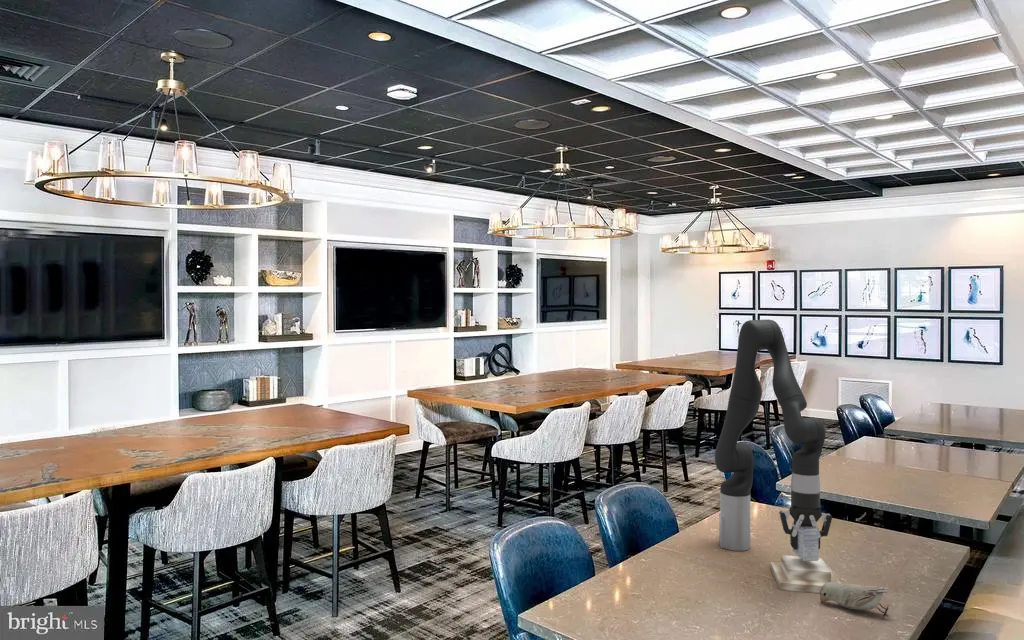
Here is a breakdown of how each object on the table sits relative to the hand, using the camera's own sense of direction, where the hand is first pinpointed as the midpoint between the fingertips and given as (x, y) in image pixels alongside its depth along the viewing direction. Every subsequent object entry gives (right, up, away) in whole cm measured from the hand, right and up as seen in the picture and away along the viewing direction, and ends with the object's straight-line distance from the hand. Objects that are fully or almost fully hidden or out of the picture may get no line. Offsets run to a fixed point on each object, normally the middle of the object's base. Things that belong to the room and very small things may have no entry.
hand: (805, 549), depth 196 cm
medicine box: (0, -2, 0) cm, 2 cm away
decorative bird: (+5, -10, -18) cm, 21 cm away
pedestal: (0, -9, 0) cm, 9 cm away
